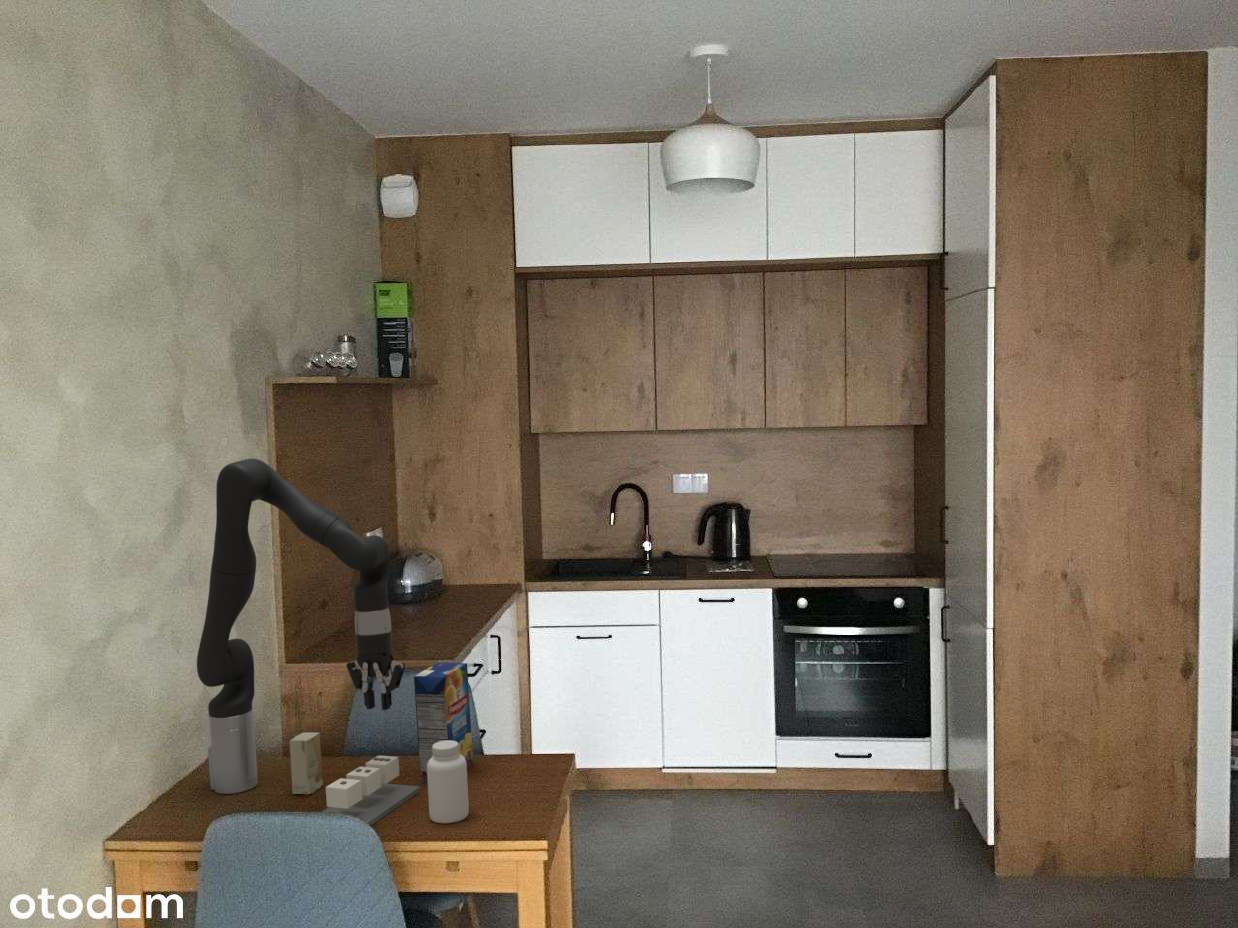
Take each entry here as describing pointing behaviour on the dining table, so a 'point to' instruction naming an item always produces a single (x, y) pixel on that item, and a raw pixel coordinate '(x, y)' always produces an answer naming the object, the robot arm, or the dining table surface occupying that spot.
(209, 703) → the robot arm
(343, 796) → the key
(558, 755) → the dining table surface
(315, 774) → the skincare box
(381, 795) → the grey rectangular board
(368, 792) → the key
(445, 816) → the pill bottle
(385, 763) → the key
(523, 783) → the dining table surface
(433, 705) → the juice carton
